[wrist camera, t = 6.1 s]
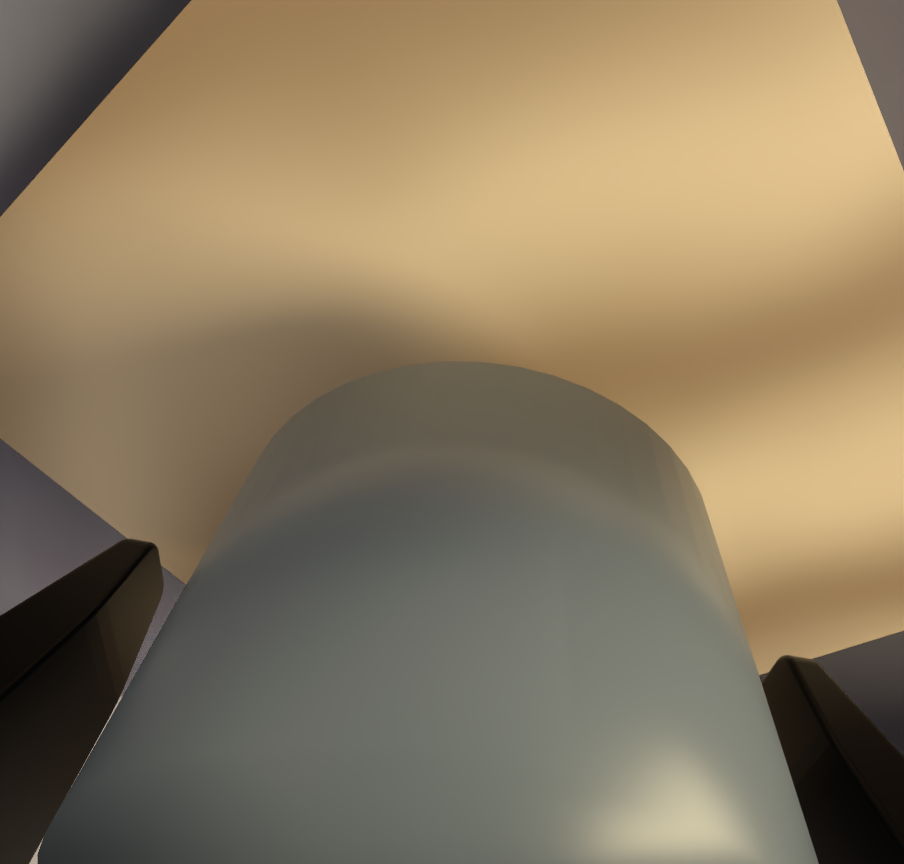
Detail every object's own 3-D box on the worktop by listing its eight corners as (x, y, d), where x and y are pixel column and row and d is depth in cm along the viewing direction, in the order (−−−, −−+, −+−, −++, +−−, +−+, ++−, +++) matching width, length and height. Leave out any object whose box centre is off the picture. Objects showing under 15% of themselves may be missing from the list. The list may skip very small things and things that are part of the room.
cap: (546, 252, 7) (561, 643, 3) (789, 625, 10) (973, 1095, 6) (148, 505, 10) (-133, 892, 6) (426, 741, 13) (373, 1116, 9)
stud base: (1016, 525, 14) (1159, 690, 10) (437, 726, 20) (418, 868, 17) (621, -425, 7) (687, -730, 4) (-56, 312, 13) (-237, 417, 10)
